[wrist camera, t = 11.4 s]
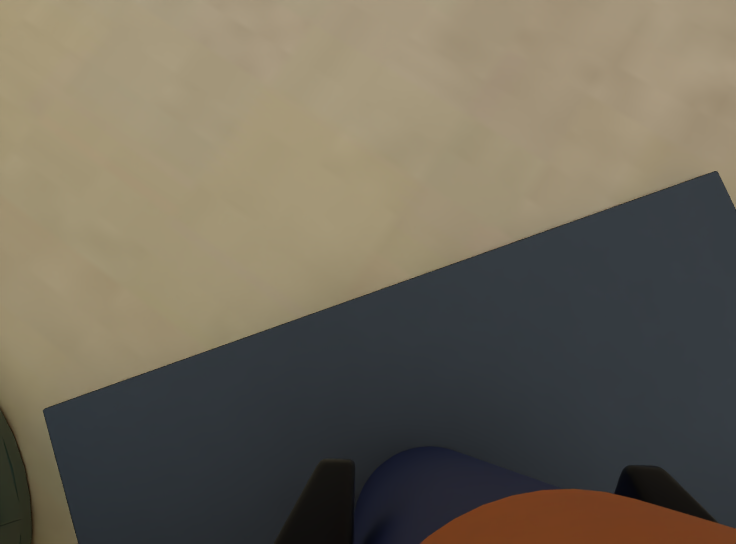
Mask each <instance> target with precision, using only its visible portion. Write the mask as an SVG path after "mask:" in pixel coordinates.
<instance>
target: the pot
mask: <svg viewBox="0 0 736 544" xmlns="http://www.w3.org/2000/svg"><path fill="white" fill-rule="evenodd" d="M31 538H32V523H31V505H30V495H29V490H28V485H27V479H26V474H25V469H24V465H23V462H22V459H21V456H20V453H19V450H18V447H17V444H16V441H15V438H14V436H13V434H12V432H11V430H10V428H9V426H8V424H7V422H6V419H5V417H4V415H3V413H2V411H1V410H0V544H31Z"/></svg>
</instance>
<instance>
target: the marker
mask: <svg viewBox="0 0 736 544" xmlns="http://www.w3.org/2000/svg"><path fill="white" fill-rule="evenodd" d="M353 544H736V528H732V527H729V526H725V525H722V524H719V523H715V522H712V521H708V520H705V519H702V518H698V517H695V516H691V515H688V514H685V513H681V512H678V511H675V510H671V509H668V508H664V507H661V506H658V505H654V504H651V503H647V502H644V501H641V500H637V499H633V498H629V497H625V496H621V495H616V494H612V493H608V492H601V491H591V490H581V489H562V488H559V487H556V486H554V485H551V484H548V483H545V482H542V481H539V480H536V479H534V478H531V477H528V476H525V475H522V474H519V473H516V472H514V471H511V470H508V469H505V468H502V467H499V466H496V465H494V464H491V463H488V462H485V461H482V460H479V459H477V458H474V457H471V456H468V455H465V454H462V453H459V452H457V451H454V450H451V449H446V448H442V447H433V446H427V447H417V448H412V449H409V450H405V451H402V452H400V453H398V454H396V455H394V456H392V457H391V458H389V459H388V460H386V461H385V462H384V463H382V464H381V465H380V466H379V467H378V468H377V469H376V470H375V471H374V472H373V473H372V474H371V476H370V477H369V479H368V480H367V482H366V483H365V485H364V487H363V489H362V491H361V493H360V495H359V498H358V501H357V504H356V509H355V513H354V543H353Z"/></svg>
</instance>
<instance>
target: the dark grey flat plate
mask: <svg viewBox="0 0 736 544" xmlns="http://www.w3.org/2000/svg"><path fill="white" fill-rule="evenodd" d="M43 413H44V417H45V420H46V424H47V428H48V432H49V435H50V439H51V443H52V447H53V450H54V454H55V458H56V462H57V465H58V469H59V473H60V477H61V480H62V484H63V488H64V492H65V495H66V499H67V503H68V507H69V510H70V514H71V518H72V522H73V525H74V529H75V533H76V536H77V540H78V544H273V543H274V541H275V540H276V538H277V536H278V534H279V532H280V531H281V529H282V527H283V525H284V524H285V522H286V520H287V518H288V516H289V515H290V513H291V511H292V509H293V507H294V506H295V504H296V502H297V500H298V498H299V497H300V495H301V493H302V491H303V489H304V488H305V486H306V484H307V482H308V480H309V479H310V477H311V475H312V473H313V471H314V470H315V468H316V466H317V465H318V463H319V462H320V461H321V460H323V459H350V460H352V461H353V462H354V463H355V502H354V513H355V509H356V504H357V501H358V498H359V495H360V493H361V491H362V489H363V487H364V485H365V483H366V482H367V480H368V479H369V477H370V476H371V474H372V473H373V472H374V471H375V470H376V469H377V468H378V467H379V466H380V465H381V464H382V463H384V462H385V461H386V460H388V459H389V458H391V457H392V456H394V455H396V454H398V453H400V452H402V451H405V450H409V449H412V448H417V447H427V446H433V447H442V448H446V449H451V450H454V451H457V452H459V453H462V454H465V455H468V456H471V457H474V458H477V459H479V460H482V461H485V462H488V463H491V464H494V465H496V466H499V467H502V468H505V469H508V470H511V471H514V472H516V473H519V474H522V475H525V476H528V477H531V478H534V479H536V480H539V481H542V482H545V483H548V484H551V485H554V486H556V487H559V488H562V489H581V490H591V491H601V492H608V493H612V494H614V492H615V489H616V486H617V483H618V480H619V477H620V474H621V472H622V470H623V469H624V468H625V467H626V466H628V465H654V466H658V467H661V468H662V469H664V470H665V471H666V472H668V473H669V474H670V475H671V476H672V477H673V478H674V479H675V480H676V481H677V482H678V483H679V484H680V485H681V486H682V487H683V488H684V489H685V490H686V491H687V492H688V493H689V494H690V495H691V496H692V497H693V498H694V499H695V500H696V501H697V502H698V503H699V504H700V505H701V506H702V507H703V508H704V509H705V510H706V511H707V512H708V513H709V514H710V515H711V516H712V517H713V518H714V519H715V520H716V521H717V522H718V523H719V524H722V525H725V526H729V527H732V528H736V209H735V207H734V205H733V203H732V201H731V199H730V196H729V194H728V192H727V190H726V188H725V186H724V184H723V182H722V180H721V178H720V176H719V173H718V172H717V171H714V172H711V173H708V174H705V175H703V176H700V177H697V178H694V179H691V180H689V181H686V182H683V183H680V184H677V185H674V186H672V187H669V188H666V189H663V190H660V191H658V192H655V193H652V194H649V195H646V196H643V197H641V198H638V199H635V200H632V201H629V202H626V203H624V204H621V205H618V206H615V207H612V208H610V209H607V210H604V211H601V212H598V213H595V214H593V215H590V216H587V217H584V218H581V219H578V220H576V221H573V222H570V223H567V224H564V225H562V226H559V227H556V228H553V229H550V230H547V231H545V232H542V233H539V234H536V235H533V236H531V237H528V238H525V239H522V240H519V241H516V242H514V243H511V244H508V245H505V246H502V247H499V248H497V249H494V250H491V251H488V252H485V253H483V254H480V255H477V256H474V257H471V258H468V259H466V260H463V261H460V262H457V263H454V264H451V265H449V266H446V267H443V268H440V269H437V270H435V271H432V272H429V273H426V274H423V275H420V276H418V277H415V278H412V279H409V280H406V281H404V282H401V283H398V284H395V285H392V286H389V287H387V288H384V289H381V290H378V291H375V292H372V293H370V294H367V295H364V296H361V297H358V298H356V299H353V300H350V301H347V302H344V303H341V304H339V305H336V306H333V307H330V308H327V309H324V310H322V311H319V312H316V313H313V314H310V315H308V316H305V317H302V318H299V319H296V320H293V321H291V322H288V323H285V324H282V325H279V326H277V327H274V328H271V329H268V330H265V331H262V332H260V333H257V334H254V335H251V336H248V337H245V338H243V339H240V340H237V341H234V342H231V343H229V344H226V345H223V346H220V347H217V348H214V349H212V350H209V351H206V352H203V353H200V354H197V355H195V356H192V357H189V358H186V359H183V360H181V361H178V362H175V363H172V364H169V365H166V366H164V367H161V368H158V369H155V370H152V371H149V372H147V373H144V374H141V375H138V376H135V377H133V378H130V379H127V380H124V381H121V382H118V383H116V384H113V385H110V386H107V387H104V388H102V389H99V390H96V391H93V392H90V393H87V394H85V395H82V396H79V397H76V398H73V399H70V400H68V401H65V402H62V403H59V404H56V405H54V406H51V407H48V408H45V409H44V410H43Z"/></svg>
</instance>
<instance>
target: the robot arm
mask: <svg viewBox="0 0 736 544" xmlns="http://www.w3.org/2000/svg"><path fill="white" fill-rule="evenodd" d="M614 494H616V495H621V496H625V497H629V498H633V499H637V500H641V501H644V502H647V503H651V504H654V505H658V506H661V507H664V508H668V509H671V510H675V511H678V512H681V513H685V514H688V515H691V516H695V517H698V518H702V519H705V520H708V521H712V522H715V523H718V522H717V521H716V520H715V519H714V518H713V517H712V516H711V515H710V514H709V513H708V512H707V511H706V510H705V509H704V508H703V507H702V506H701V505H700V504H699V503H698V502H697V501H696V500H695V499H694V498H693V497H692V496H691V495H690V494H689V493H688V492H687V491H686V490H685V489H684V488H683V487H682V486H681V485H680V484H679V483H678V482H677V481H676V480H675V479H674V478H673V477H672V476H671V475H670V474H669V473H668V472H666V471H665V470H664V469H662V468H661V467H658V466H654V465H628V466H626V467H625V468H624V469H623V470H622V472H621V474H620V477H619V480H618V483H617V486H616V489H615V492H614ZM354 502H355V463H354V462H353V461H352V460H350V459H323V460H321V461H320V462H319V463H318V465H317V466H316V468H315V470H314V471H313V473H312V475H311V477H310V479H309V480H308V482H307V484H306V486H305V488H304V489H303V491H302V493H301V495H300V497H299V498H298V500H297V502H296V504H295V506H294V507H293V509H292V511H291V513H290V515H289V516H288V518H287V520H286V522H285V524H284V525H283V527H282V529H281V531H280V532H279V534H278V536H277V538H276V540H275V541H274V543H273V544H353V543H354Z"/></svg>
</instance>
